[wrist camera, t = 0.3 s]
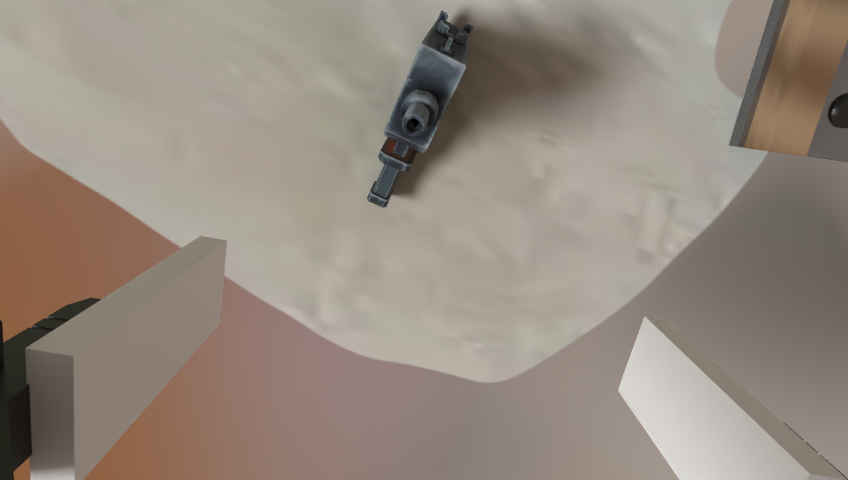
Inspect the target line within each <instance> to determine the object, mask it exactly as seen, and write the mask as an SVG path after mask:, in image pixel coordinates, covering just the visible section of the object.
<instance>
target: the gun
mask: <svg viewBox="0 0 848 480" xmlns="http://www.w3.org/2000/svg"><path fill="white" fill-rule="evenodd" d="M447 18H448V16H447V13H445V12H443V11H441V13H440V15H439V17H438V20H437V21H436V22H435V24H434V25H433V27H432V28H431V30H430V31H429V33H428V34H427V36H426V37H425V39H424V40H423V42H422V43H421V45H420V47H419V50H418V52H417V55H416V57H415V59H414V62H413V64H412V67H411V69H410V71H409V74H408V76H407V79H406V81H405V83H404V86H403V88H402V91H401V93H400V95H399V98H398V100H397V103H396V105H395V107H394V110H393V112H392V115H391V117H390V119H389V122H388V124H387V127H386V129H385V132H384V135H385V136H387V137H388V138H387V140H386V141H385V143H384V145H383V147H382V149H381V151H380V153H379V156H378V157H379V159H380V161H381V162H382V163H384V166H383V168H382V171H381V173H380V175H379V178H378V180H377V181H375V182H374V184H373V186H372V188H371V190H370V193H369V195H368V197H367V199H368V201H369V202H372V203H374V204H376V205H378V206H381V207H386V206H387V204H388V202H389V200H390V197H391V194H392V191H393V188H392V187H393V185H394V183H395V181H396V179H397V177H398V174H399V172H400V171H402V172H407V171H409V170H410V168H411V166H412V163H413V160H414V157H415V154H416V152H417V151H419V152H422V153H424V152H425V151H426V150H427V148H428V146H429V144H430V142H431V140H432V138H433V136H434V134H435V132H436V130H437V127H438V125H439V123H440V121H441V119H442V117H443V115H444V113H445V111H446V109H447V106H448V104H449V102H450V100H451V98H452V96H453V94H454V92H455V90H456V88H457V85H458V83H459V81H460V79H461V77H462V75H463V73H464V71H465V69H466V67H467V58H468V47H469V37H470V33H471V31H472V29H473V26H471V25H469V24H468V25H465V26H464V28H463V30H462V29H458V28H456V27H454V26H452V25H451V24H450V23H449V22H446V21H447Z"/></svg>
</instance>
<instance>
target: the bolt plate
mask: <svg viewBox="0 0 848 480" xmlns="http://www.w3.org/2000/svg"><path fill="white" fill-rule="evenodd" d="M789 3H790V0H774V1H773V4H772V7H771V11H770V14H769V17H768V20H767V24H766V27H765V30H764V33H763V37H762V40H761V43H760V47H759V50H758V53H757V56H756V60H755V63H754V66H753V69H752V73H751V76H750V79H749V82H748V85H747V89H746V92H745V95H744V98H743V102H742V105H741V108H740V111H739V115H738V118H737V121H736V124H735V128H734V131H733V134H732V137H731V141H730V144H729V145H730V146H737V147H744V145H745V142H746V139H747V136H748V133H749V129H750V126H751V123H752V120H753V117H754V114H755V111H756V107H757V104H758V101H759V98H760V95H761V92H762V88H763V85H764V82H765V79H766V76H767V73H768V70H769V66H770V63H771V60H772V57H773V54H774V51H775V47H776V44H777V41H778V38H779V35H780V32H781V29H782V25H783V22H784V19H785V16H786V13H787V10H788V6H789ZM806 156H808V157H815V158H823V159H830V160H837V161H844V162H848V40H847V43H846V45H845V48H844V51H843V54H842V57H841V59H840V62H839V65H838V68H837V71H836V74H835V76H834V79H833V82H832V85H831V88H830V90H829V93H828V96H827V99H826V102H825V105H824V107H823V110H822V113H821V116H820V119H819V121H818V124H817V127H816V130H815V133H814V136H813V138H812V141H811V144H810V147H809V150H808V152H807V155H806Z"/></svg>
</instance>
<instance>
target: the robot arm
mask: <svg viewBox="0 0 848 480" xmlns="http://www.w3.org/2000/svg"><path fill="white" fill-rule="evenodd" d="M226 245H227V241H225V240H220V239H214V238H209V237H203V236H200V237H199V238H197V239H195V240H194V241H192V242H191V243H189V244H188V245H186V246H184V247H183V248H181V249H180V250H178V251H177V252H175V253H174V254H172V255H171V256H169V257H167V258H166V259H164V260H163V261H161V262H160V263H158V264H156V265H155V266H153V267H152V268H150V269H148V270H147V271H145V272H144V273H142V274H141V275H139V276H138V277H136V278H134V279H133V280H131V281H130V282H128V283H127V284H125V285H123V286H122V287H120V288H119V289H117V290H116V291H114V292H112V293H111V294H109V295H108V296H106V297H105V298H103V299H96V298H89V299H85V300H82V301H79V302H76V303H73V304H69V305H67V306H65V307H63V308H61V309H59V310H58V311H56V312H54V313H53V314H51V315H49V316H48V318H47V319H43V320H41V321H39V322H37V323H36V324H34V325H33V327H32V328H27V329H26V330H24V331H22V332H21V333H19V334H17V335H15V336H14V337H12V338H11V339H9V340H7V341H5V342H4V343H3V332H2V331H3V330H2V321H1V320H0V480H14V476H13V472H14V471H15V470H16V469H17V468H18V467H19V466H20V465H21V464H22V463H23V462H24V461H25V460H27V459H28V458H29V457H30V476H31V480H83V479H84V478H85V477H86V476H87V475H88V473H90V471H91V470H92V469H93V468H94V467H95V466H96V464H97V463H98V462H99V461H100V460H101V459H102V458H103V456H104V455H105V454H106V453H107V452H108V451H109V450H110V448H111V447H112V446H113V445H114V444H115V443H116V442H117V440H118V439H119V438H120V437H121V436H122V435H123V434H124V432H125V431H126V430H127V429H128V428H129V427H130V425H131V424H132V423H133V422H134V421H135V420H136V419H137V418H138V416H139V415H140V414H141V413H142V412H143V411H144V409H145V408H146V407H147V406H148V405H149V404H150V403H151V401H152V400H153V399H154V398H155V397H156V396H157V395H158V394H159V392H160V391H161V390H162V389H163V388H164V387H165V385H166V384H167V383H168V382H169V381H170V380H171V379H172V377H173V376H174V375H175V374H176V373H177V372H178V371H179V369H180V368H181V367H182V366H183V365H184V364H185V363H186V361H187V360H188V359H189V358H190V357H191V356H192V354H193V353H194V352H195V351H196V350H197V349H198V348H199V347H200V345H201V344H202V343H203V342H204V341H205V339H207V337H208V336H209V335H210V334H211V333H212V332H213V331H214V329H215V328H216V327H217V326H218V325H219V324H220V315H221V314H220V313H221V302H222V290H223V278H224V268H225V256H226ZM618 391H619V393H620V394H621V395H622V397H623V398H624V400H625V401H626V403H627V404H628V405H629V407H630V408H631V410H632V411H633V413H634V414H635V416H636V417H637V419H638V420H639V421H640V423H641V424H642V426H643V427H644V429H645V430H646V432H647V433H648V435H649V436H650V437H651V439H652V440H653V442H654V443H655V445H656V446H657V448H658V449H659V450H660V452H661V453H662V455H663V456H664V458H665V459H666V461H667V462H668V464H669V465H670V466H671V468H672V469H673V471H674V472H675V474H676V475H677V477H678V478H679V479H680V480H848V479H847V478H846V477H845V476H844V475H843V474H842V473H841V472H840V471H838V470H837V469H836V468H835V467H834V466H833V465H832V464H830V463H829V462H828V461H827V460H826V459H825V458H824V457H822V456H821V455H819V454H818V452H817V451H816V450H815V449H814V448H812V447H811V446H810V445H809V444H808V443H807V442H805V441H803V439H802V438H801V437H800V436H799V435H798V434H796V433H795V432H794V431H793V430H792V429H791V428H790V427H788V426H787V425H786V424H785V423H783V422H782V421H781V420H780V419H779V418H777V417H776V416H775V415H774V414H773V413H772V412H771V411H770V410H768V409H767V408H766V407H765V406H764V405H763V404H761V403H760V402H759V401H758V400H757V399H756V398H755V397H754V396H753V395H751V394H750V393H749V392H748V391H747V390H746V389H745V388H744V387H742V386H741V385H740V384H739V383H738V382H737V381H736V380H735V379H733V378H732V377H731V376H730V375H729V374H728V373H727V372H725V371H724V370H723V369H722V368H721V367H720V366H719V365H718V364H716V363H715V362H714V361H713V360H712V359H711V358H710V357H708V356H707V355H706V354H705V353H704V352H703V351H702V350H701V349H699V348H698V347H697V346H696V345H695V344H694V343H693V342H691V341H690V340H689V339H688V338H687V337H686V336H685V335H684V334H682V333H681V332H680V331H679V330H678V329H677V328H676V327H675V326H673V325H672V324H671V323H670V322H669V321H668V320H663V319H658V318H652V317H647V316H645V317H644V319H643V322H642V325H641V328H640V331H639V333H638V336H637V339H636V342H635V345H634V348H633V350H632V353H631V356H630V358H629V361H628V364H627V367H626V369H625V373H624V375H623V378H622V381H621V384H620V386H619V389H618Z"/></svg>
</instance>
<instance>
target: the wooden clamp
mask: <svg viewBox="0 0 848 480" xmlns="http://www.w3.org/2000/svg"><path fill="white" fill-rule="evenodd" d="M847 40H848V0H790V3H789V6H788V10H787V13H786V16H785V19H784V22H783V25H782V29H781V32H780V35H779V38H778V41H777V44H776V47H775V51H774V54H773V57H772V60H771V63H770V66H769V70H768V73H767V76H766V79H765V82H764V85H763V88H762V92H761V95H760V98H759V101H758V104H757V107H756V111H755V114H754V117H753V120H752V123H751V126H750V129H749V133H748V136H747V139H746V142H745V145H744V148H750V149H757V150H764V151H771V152H778V153H785V154H793V155H800V156H806V155H807V152H808V150H809V147H810V144H811V141H812V138H813V136H814V133H815V130H816V127H817V124H818V121H819V119H820V116H821V113H822V110H823V107H824V105H825V102H826V99H827V96H828V93H829V90H830V88H831V85H832V82H833V79H834V76H835V74H836V71H837V68H838V65H839V62H840V59H841V57H842V54H843V51H844V48H845V45H846V43H847Z"/></svg>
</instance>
